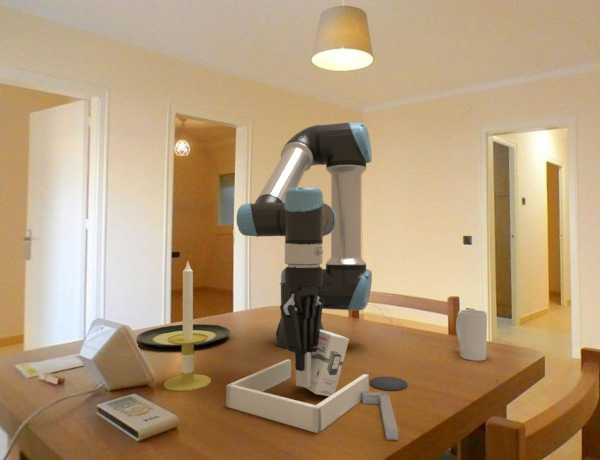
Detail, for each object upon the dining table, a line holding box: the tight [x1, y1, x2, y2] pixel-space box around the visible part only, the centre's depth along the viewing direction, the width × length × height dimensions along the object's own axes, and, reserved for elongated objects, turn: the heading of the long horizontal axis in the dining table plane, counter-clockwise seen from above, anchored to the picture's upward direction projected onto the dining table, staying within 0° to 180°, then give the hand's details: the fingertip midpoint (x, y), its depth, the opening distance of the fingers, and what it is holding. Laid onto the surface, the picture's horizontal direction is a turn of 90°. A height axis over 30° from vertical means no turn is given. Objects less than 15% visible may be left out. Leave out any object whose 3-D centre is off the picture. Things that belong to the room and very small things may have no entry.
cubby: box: [225, 358, 370, 434], centre depth 83 cm, size 20×20×4 cm
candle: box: [163, 261, 212, 392], centre depth 93 cm, size 10×10×27 cm
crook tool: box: [361, 391, 399, 441], centre depth 75 cm, size 5×16×2 cm, turn 174°
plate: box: [136, 323, 232, 349], centre depth 132 cm, size 28×28×2 cm
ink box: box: [295, 329, 350, 397], centre depth 88 cm, size 9×5×12 cm, turn 29°
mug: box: [455, 309, 488, 362], centre depth 114 cm, size 10×7×12 cm, turn 17°
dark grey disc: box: [369, 376, 408, 392], centre depth 92 cm, size 8×8×1 cm
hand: (303, 385), depth 84 cm, fingers closed
